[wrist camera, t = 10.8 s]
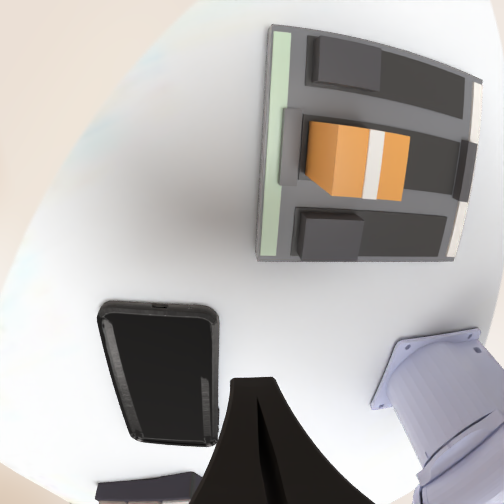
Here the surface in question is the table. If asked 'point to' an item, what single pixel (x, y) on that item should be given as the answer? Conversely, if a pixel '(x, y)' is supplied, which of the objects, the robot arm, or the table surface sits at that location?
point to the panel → (371, 117)
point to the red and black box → (150, 490)
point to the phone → (164, 370)
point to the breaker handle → (357, 161)
